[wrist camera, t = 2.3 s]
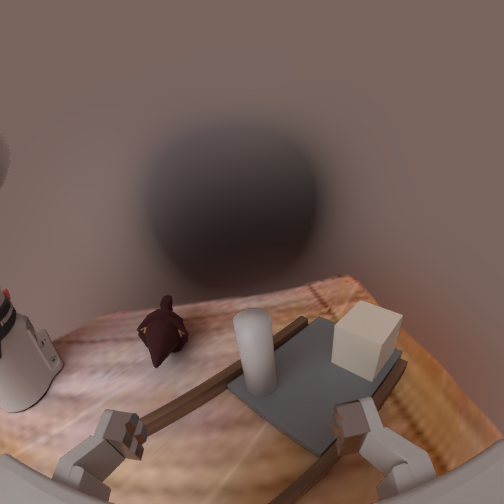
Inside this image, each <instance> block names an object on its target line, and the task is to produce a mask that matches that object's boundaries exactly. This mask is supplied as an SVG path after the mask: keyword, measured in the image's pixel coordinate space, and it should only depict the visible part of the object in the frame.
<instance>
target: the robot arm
mask: <svg viewBox="0 0 504 504" xmlns="http://www.w3.org/2000/svg"><path fill="white" fill-rule="evenodd" d="M9 164H10V152H9V146H8V143H7V140H6V138H5V136H4V134H3V133H2V132H1V130H0V189H2V187H3V185H4V183H5V180H6V177H7V174H8V169H9ZM62 367H63V363H62V361H61V359H60V357H59V355H58V353H57V351H56V349H55V347H54V345H53V343H52V341H51V339H50V337H49V335H48V333H47V332H46V330H45V329H38V330H35V329H34V327H33V325H32V323H31V322H30V320H29V318H28V317H27V316H25V315H22V314H19V313H16V310H15V309H14V307H13V305H12V303H11V301H10V294H9V292H8V290H7V289H5V290H3V291H2V289H1V287H0V408H2V409H3V410H5V411H7V412H19V411H22V410H25V409H27V408H29V407H30V406H32V405H33V404H35V403H36V402H37V401H38V400H39V399H40V398H41V397H42V396H43V395H44V393H45V392H46V390H47V389H48V387H49V385H50V383H51V381H52V379H53V377H54V376H55V375H56V374H57V373H58V372H59V371H60V370H61V368H62ZM333 411H334V414H333V415H332V430H333V434H334V435H335V436H336V437H337V440H336V447H337V451H338V455H339V456H343V455H347V454H352V453H356V452H359V454H361V455H362V456H363V457H364V458H365V459H366V460H367V461H368V462H370V463H371V464H372V465H373V466H374V467H375V468H377V469H378V470H379V471H380V472H381V473H383V474H384V475H385V476H386V477H385V478H384V479H383V480H382V481H381V482H380V483H379V485H378V486H377V487H376V488H377V492H378V496H379V500H380V501H379V502H375V503H372V504H504V439H500V440H498V441H497V442H495V443H494V444H493V445H491V446H490V447H488V448H487V449H485V450H484V451H482V452H481V453H479V454H478V455H476V456H475V457H473V458H471V459H470V460H468V461H467V462H465V463H463V464H461V465H460V466H458V467H456V468H454V469H453V470H451V471H449V472H447V473H445V474H443V475H441V476H439V477H437V475H436V472H435V470H434V467H433V465H432V462H431V460H430V457H429V455H428V452H426V451H424V450H423V449H421V448H419V447H418V446H416V445H415V444H413V443H411V442H410V441H408V440H407V439H405V438H403V437H402V436H400V435H399V434H397V433H396V432H394V431H393V430H391V429H390V428H388V427H386V428H384V426H383V424H382V421H381V419H380V416H379V413H378V411H377V408H376V406H375V403H374V401H373V399H372V398H371V397H366V398H362V399H359V400H354V401H350V402H345V403H341V404H337V405H334V408H333ZM146 440H147V428H146V426H145V424H144V423H143V422H141V421H139V416H138V415H137V414H136V413H128V412H120V411H115V410H108V409H106V410H105V411H104V412H103V414H102V416H101V419H100V421H99V423H98V426H97V428H96V431H95V433H94V436H90V437H88V438H87V439H86V440H84V441H83V442H82V443H80V444H79V445H78V446H76V447H75V448H74V449H72V450H71V451H69V452H68V453H67V454H65V455H64V456H63V457H61V458H60V459H59V462H58V464H57V467H56V469H55V472H54V475H53V477H52V479H51V478H49V477H47V476H45V475H43V474H41V473H40V472H38V471H36V470H34V469H32V468H31V467H29V466H27V465H25V464H24V463H22V462H20V461H19V460H17V459H16V458H14V457H12V456H11V455H9V454H2V455H0V504H114V503H110V502H108V500H109V496H110V492H111V489H110V487H108V486H107V485H105V484H104V483H102V482H103V481H104V480H105V479H106V478H107V477H108V476H109V475H110V474H111V473H112V472H113V471H114V470H115V469H116V468H117V467H118V466H119V465H120V464H121V463H122V462H123V461H124V460H125V458H128V459H134V460H140V461H141V459H142V455H143V451H144V448H143V446H142V444H143V443H145V442H146Z"/></svg>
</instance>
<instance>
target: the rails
mask: <svg viewBox="0 0 504 504" xmlns="http://www.w3.org/2000/svg"><path fill="white" fill-rule="evenodd" d="M307 326H308V318H305V317H303V316H300V317H299V318H298V319H296V320H295V321H294V322H292V323H291V324H290V325H288V326H287V327H285V328H284V329H283V330H281V331H280V332H279V333H277V334H276V335H274V336H273V346H274V351H276V350H277V349H278V348H280V347H281V346H282V345H284V344H285V343H286V342H288V341H289V340H290V339H291V338H293V337H294V336H295V335H297V334H298V333H299V332H300V331H302V330H303V329H304V328H305V327H307ZM406 365H407V361H405V360H402V359H399V360H398V362H397V363H396V365H395V366H394V368H393V369H392V371H391V372H390V374H389V375H388V377H387V378H386V380H385V381H384V383H383V384H382V385H381V387H380V388H379V390H378V391H377V392H376V394H375V395H374V396H373V398H372V399H373V401H374V403H375V406H376V408H377V411H379V409H380V408H381V407H382V405H383V404H384V402H385V401H386V399H387V398H388V396H389V395H390V393H391V392H392V390H393V389H394V387H395V386H396V384H397V383H398V381H399V380H400V378H401V376H402V375H403V373H404V371H405V368H406ZM242 374H244V373H243V368H242V363H241V359H240V360H238V361H237V362H235V363H234V364H232V365H230V366H229V367H227V368H226V369H224V370H223V371H221V372H220V373H218V374H216V375H215V376H213V377H212V378H210V379H208V380H207V381H205V382H204V383H202V384H200V385H199V386H197V387H195V388H194V389H192V390H190V391H189V392H187V393H185V394H184V395H182V396H180V397H178V398H177V399H175V400H173V401H171V402H170V403H168V404H166V405H164V406H163V407H161V408H159V409H157V410H155V411H153V412H152V413H150V414H148V415H146V416H144V417H142V418H140V419H139V421H141V422H143V423H144V424H145V426H146V428H147V436H149V435H151V434H153V433H155V432H157V431H158V430H160V429H162V428H164V427H166V426H167V425H169V424H171V423H173V422H174V421H176V420H178V419H180V418H181V417H183V416H185V415H186V414H188V413H190V412H191V411H193V410H195V409H196V408H198V407H200V406H201V405H203V404H204V403H206V402H207V401H209V400H211V399H212V398H214V397H215V396H217V395H218V394H220V393H221V392H223V391H224V390H226V389H227V388H228V386H227V385H228V384H229V383H230V382H232V381H233V380H235V379H236V378H238V377H239V376H241V375H242ZM341 457H342V456H339V455H338V451H337V447H336V442H335V443H334V444H333V445H332V446H331V447H330V449H329V450H328V451H327V452H326V453H325V454H324V455H323V456H322V457H321V458H320V459H319V460H318V461H317V462H316V463H315V464H314V465H313V466H312V467H311V468H310V469H308V470H307V471H306V472H305V473H304V474H303V475H302V476H301V477H300V478H299V479H298V480H296V481H295V482H294V483H293V484H292V485H291V486H289V487H288V488H287V489H286V490H285V491H284V492H282V493H281V494H280V495H279V496H277V497H276V498H275V499H274V500H272V501H271V502H270V503H268V504H293V503H294V502H296V501H297V500H298V499H299V498H300V497H301V496H302V495H303V494H305V493H306V492H307V491H308V490H309V489H310V488H311V487H312V486H313V485H314V484H315V483H316V482H317V481H318V480H320V479H321V478H322V477H323V476H324V475H325V474H326V473H327V471H328V470H329V469H330V468H331V467H332V466H333V465H334V464H335V463H336V462H337V461H338V460H339V459H340V458H341Z"/></svg>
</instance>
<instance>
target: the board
mask: <svg viewBox="0 0 504 504" xmlns="http://www.w3.org/2000/svg"><path fill="white" fill-rule="evenodd" d="M233 324H234V329H235V334H236V339H237V344H238V349H239V354H240V358H241V363H242V368H243V373H244V374H242V375H241V376H239V377H238V378H236V379H235V380H233V381H232V382H230V383H229V384H228V385H227V386H228V389H229V390H230V391H231V392H232V393H233V394H234V395H236V396H237V397H238V398H239V399H240V400H242V401H243V402H244V403H245V404H246V405H248V406H249V407H250V408H251V409H253V410H254V411H255V412H256V413H258V414H259V415H260V416H262V417H263V418H264V419H265V420H267V421H268V422H269V423H271V424H272V425H273V426H275V427H276V428H277V429H279V430H280V431H282V432H283V433H284V434H286V435H287V436H289V437H290V438H291V439H293V440H294V441H296V442H297V443H299V444H300V445H301V446H303V447H304V448H306V449H307V450H309V451H311V452H312V453H314V454H315V455H317V456H318V457H321V456H322V455H323V454H324V453H325V452H326V451H327V450H328V449H329V448H330V447H331V446H332V445H333V444H334V443H335V442H336V440H337V437H336V436H335V435H334V434H333V430H332V415H333V414H334V411H333V408H334V405H337V404H341V403H345V402H350V401H354V400H359V399H362V398H366V397H371V398H372V397H373V396H374V395H375V393H376V392H377V390H378V389H379V388H380V386H381V385H382V384H383V382H384V381H385V379H386V378H387V376H388V375H389V373H390V372H391V370H392V369H393V367H394V366H395V364H396V363H397V361H398V360H399V358H400V357H401V354H402V351H401V350H398V349H396V348H395V349H394V352H393V354H392V355H391V356H390V358H389V359H388V361H387V362H386V364H385V365H384V367H383V368H382V369H381V371H380V372H379V373H378V375H377V376H376V378H375V379H374V380H373V382H371V381H369V380H367V379H365V378H362V377H360V376H358V375H356V374H354V373H352V372H350V371H348V370H346V369H344V368H342V367H340V366H338V365H336V364H334V363H332V362H331V359H332V349H333V339H334V326H335V324H336V323H333V322H331V321H329V320H326V319H324V318H322V317H318V318H316V319H315V320H314V321H313V322H312V323H310V324H309V325H308V326H307V327H305V328H304V329H303V330H302V331H300V332H299V333H298V334H297V335H295V336H294V337H293V338H291V339H290V340H289V341H288V342H286V343H285V344H284V345H282V346H281V347H280V348H278V349H277V350H276V351H274V346H273V336H272V325H271V316H270V314H269V312H268V311H266V310H264V309H261V308H248V309H245V310H242V311H240V312H238V313H237V314H236V315H235V316H234V318H233Z"/></svg>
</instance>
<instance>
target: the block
mask: <svg viewBox="0 0 504 504" xmlns="http://www.w3.org/2000/svg"><path fill="white" fill-rule="evenodd" d="M402 317H403V315H401V314H398V313H395V312H393V311H390V310H387V309H384V308H382V307H379V306H376V305H373V304H370V303H367V302H365V301H362V300H360V301H359V302H358V303H357V304H356V305H355V306H354V307H353V308H352V309H351V310H350V311H349V312H348V313H347V314H346V315H345V316H344V317H343V318H342V319H341V320H340V321H338V322H337V323H336V324H335V326H334V339H333V349H332V359H331V362H332V363H334V364H336V365H338V366H340V367H342V368H344V369H346V370H348V371H350V372H352V373H354V374H356V375H358V376H360V377H362V378H365V379H367V380H369V381H371V382H373V380H374V379H375V378H376V376H377V375H378V373H379V372H380V371H381V369H382V368H383V367H384V365H385V364H386V362H387V361H388V359H389V358H390V356H391V355H392V354H393V352H394V349H395V345H396V341H397V338H398V334H399V330H400V326H401V322H402Z"/></svg>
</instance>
